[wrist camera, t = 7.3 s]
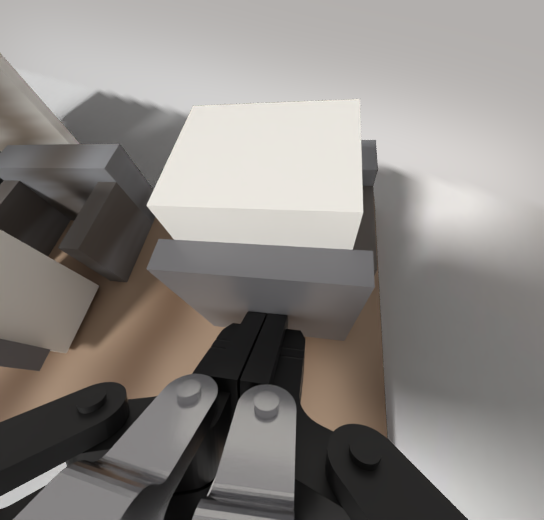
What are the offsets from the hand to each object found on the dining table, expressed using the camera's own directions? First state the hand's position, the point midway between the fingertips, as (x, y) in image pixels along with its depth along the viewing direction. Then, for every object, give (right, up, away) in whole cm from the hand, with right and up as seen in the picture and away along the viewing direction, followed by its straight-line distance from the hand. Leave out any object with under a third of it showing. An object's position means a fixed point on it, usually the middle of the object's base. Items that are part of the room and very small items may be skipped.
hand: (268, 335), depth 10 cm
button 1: (+1, +1, +5) cm, 5 cm away
